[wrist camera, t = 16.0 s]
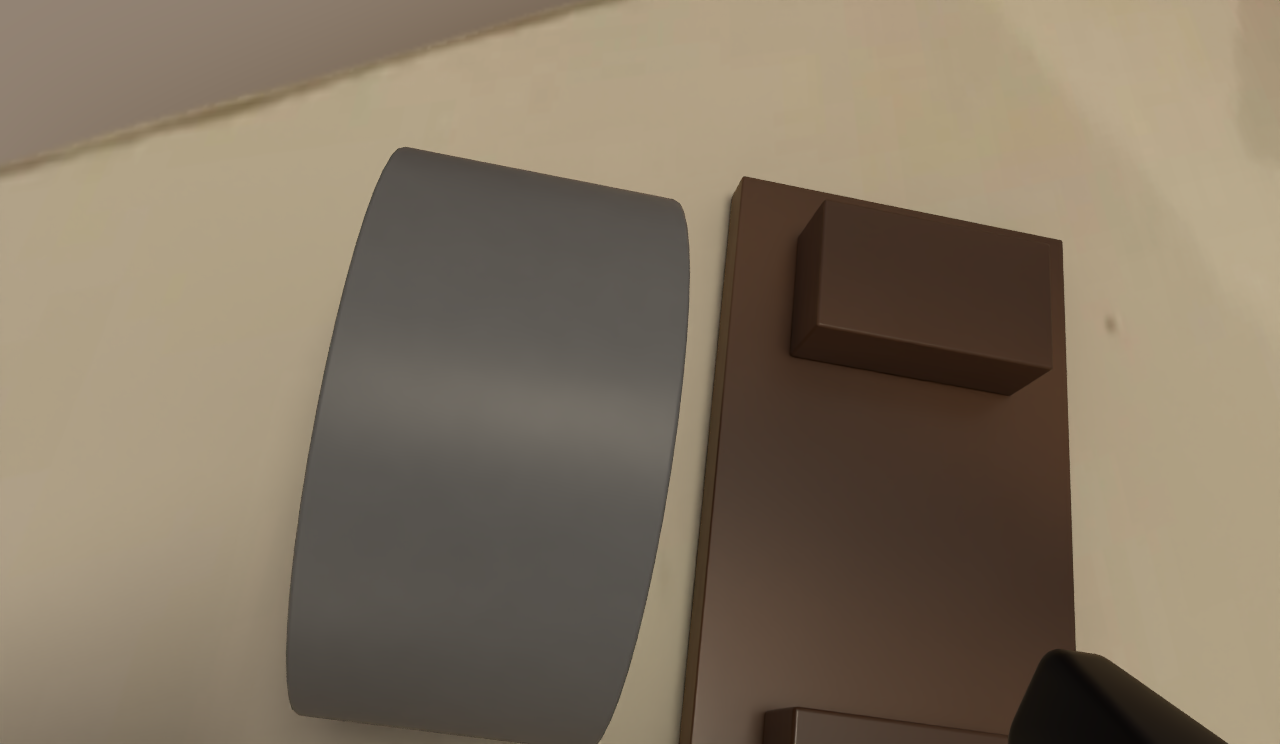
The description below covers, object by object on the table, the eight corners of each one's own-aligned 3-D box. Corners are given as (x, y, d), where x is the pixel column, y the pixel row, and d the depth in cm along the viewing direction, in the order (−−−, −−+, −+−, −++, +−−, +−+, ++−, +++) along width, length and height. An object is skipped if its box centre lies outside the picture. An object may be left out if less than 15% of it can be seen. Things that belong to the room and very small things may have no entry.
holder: (1058, 985, 21) (1148, 1017, 18) (659, 943, 20) (693, 971, 17) (1041, 258, 26) (1107, 203, 24) (731, 196, 25) (765, 132, 23)
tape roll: (559, 753, 20) (648, 749, 12) (322, 723, 20) (239, 698, 11) (615, 328, 24) (718, 87, 15) (413, 292, 23) (402, 20, 15)
